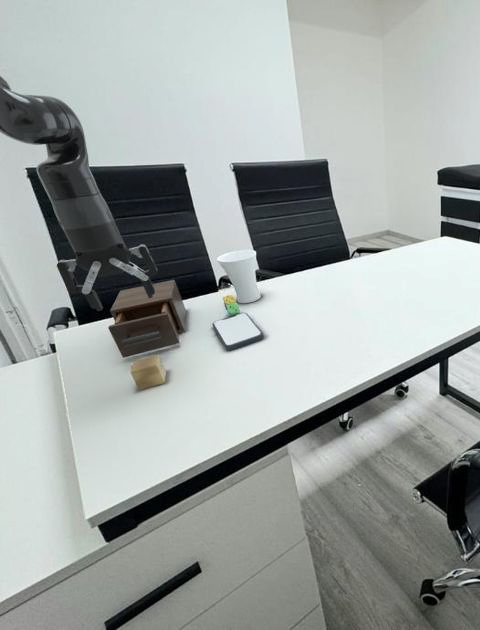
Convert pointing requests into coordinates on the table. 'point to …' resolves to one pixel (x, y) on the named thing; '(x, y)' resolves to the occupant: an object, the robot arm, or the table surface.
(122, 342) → the drawer
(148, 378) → the maple cube
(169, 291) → the cabinet
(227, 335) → the phone case
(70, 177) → the robot arm
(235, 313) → the kitchen sponge
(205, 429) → the table surface
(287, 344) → the table surface
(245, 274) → the cup
